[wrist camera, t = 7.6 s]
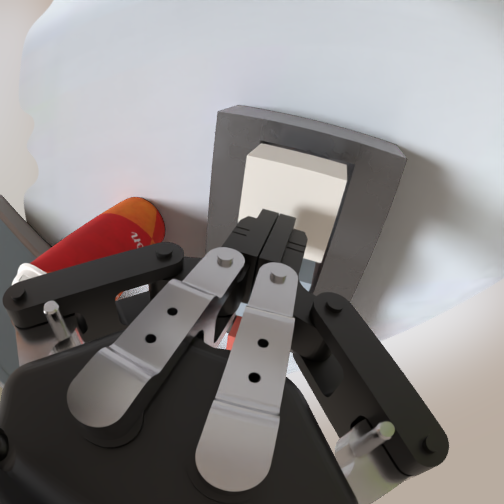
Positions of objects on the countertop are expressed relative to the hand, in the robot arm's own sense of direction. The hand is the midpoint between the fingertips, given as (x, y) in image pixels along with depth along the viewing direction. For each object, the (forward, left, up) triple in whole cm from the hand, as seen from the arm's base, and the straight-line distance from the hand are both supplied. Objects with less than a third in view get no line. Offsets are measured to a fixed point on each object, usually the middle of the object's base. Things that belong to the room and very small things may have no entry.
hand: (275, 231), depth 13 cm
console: (+6, 0, -11) cm, 12 cm away
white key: (-1, 0, -6) cm, 6 cm away
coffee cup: (+9, -15, -11) cm, 21 cm away
